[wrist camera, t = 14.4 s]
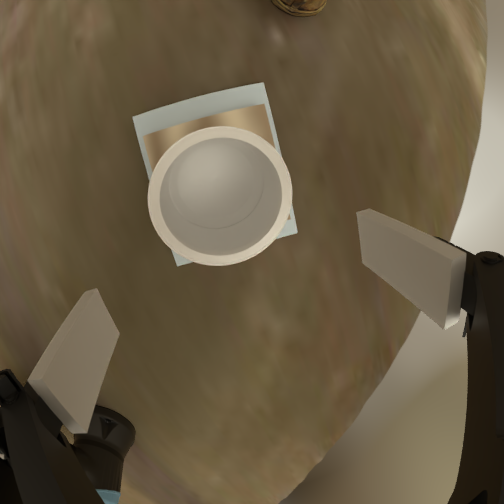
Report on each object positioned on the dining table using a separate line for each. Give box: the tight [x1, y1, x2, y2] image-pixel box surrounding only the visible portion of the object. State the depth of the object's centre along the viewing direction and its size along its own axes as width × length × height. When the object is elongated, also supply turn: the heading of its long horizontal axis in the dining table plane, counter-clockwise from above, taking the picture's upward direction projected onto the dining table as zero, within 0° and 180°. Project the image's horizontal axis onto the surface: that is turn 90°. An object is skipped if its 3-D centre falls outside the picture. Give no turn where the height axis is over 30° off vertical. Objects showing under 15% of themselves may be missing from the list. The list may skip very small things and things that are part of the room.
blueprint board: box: [133, 82, 298, 266], centre depth 39 cm, size 18×22×1 cm
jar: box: [148, 126, 292, 266], centre depth 28 cm, size 11×10×15 cm
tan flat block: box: [143, 104, 291, 220], centre depth 36 cm, size 15×15×4 cm
